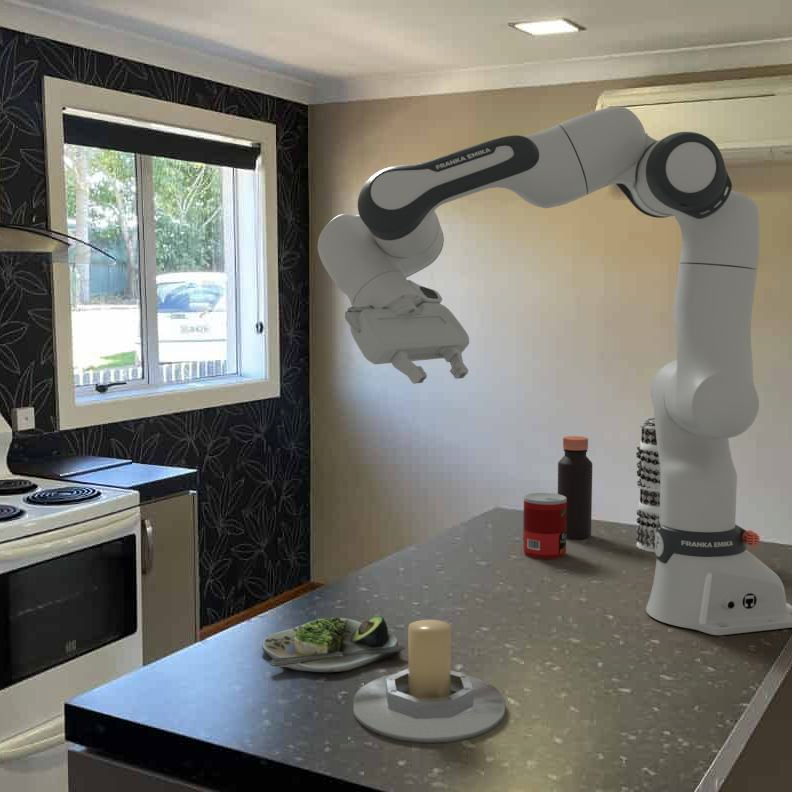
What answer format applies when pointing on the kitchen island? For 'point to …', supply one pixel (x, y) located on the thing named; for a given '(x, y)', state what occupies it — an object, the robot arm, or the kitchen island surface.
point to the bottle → (576, 486)
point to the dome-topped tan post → (429, 659)
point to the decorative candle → (648, 487)
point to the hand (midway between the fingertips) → (442, 378)
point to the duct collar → (429, 709)
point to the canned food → (545, 525)
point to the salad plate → (332, 645)
